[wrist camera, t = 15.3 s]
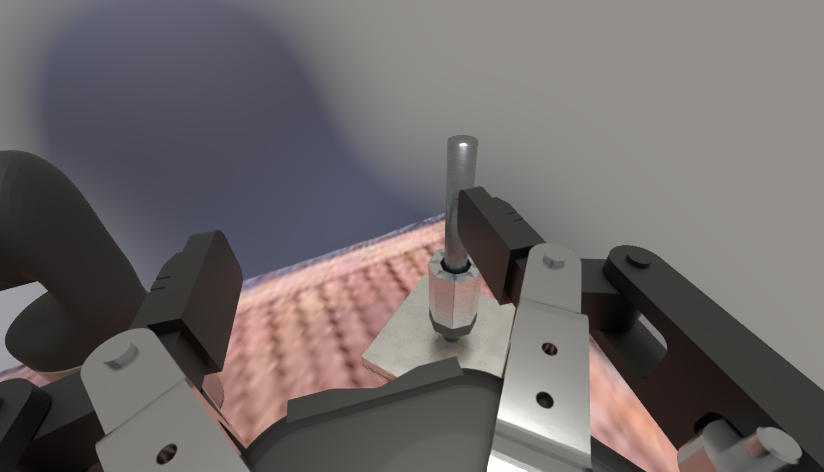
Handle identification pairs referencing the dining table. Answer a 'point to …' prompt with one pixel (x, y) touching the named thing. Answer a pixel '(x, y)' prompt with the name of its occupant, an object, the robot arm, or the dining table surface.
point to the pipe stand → (411, 326)
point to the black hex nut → (452, 332)
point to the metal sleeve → (453, 293)
